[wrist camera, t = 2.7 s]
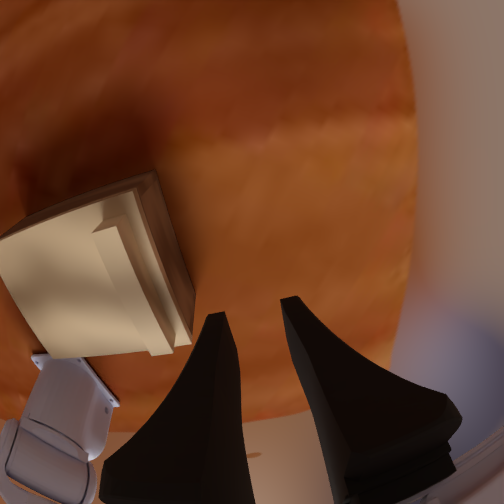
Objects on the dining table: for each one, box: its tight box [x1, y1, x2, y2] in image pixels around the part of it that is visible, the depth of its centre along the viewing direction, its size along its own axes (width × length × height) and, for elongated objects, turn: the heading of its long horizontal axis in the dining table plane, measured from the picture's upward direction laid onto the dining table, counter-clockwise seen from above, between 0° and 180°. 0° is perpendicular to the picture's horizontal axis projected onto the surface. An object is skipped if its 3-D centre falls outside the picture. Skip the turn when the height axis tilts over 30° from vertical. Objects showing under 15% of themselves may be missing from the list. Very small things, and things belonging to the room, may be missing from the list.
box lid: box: [0, 188, 192, 359], centre depth 15 cm, size 10×12×2 cm
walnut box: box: [0, 169, 196, 335], centre depth 18 cm, size 10×12×5 cm
